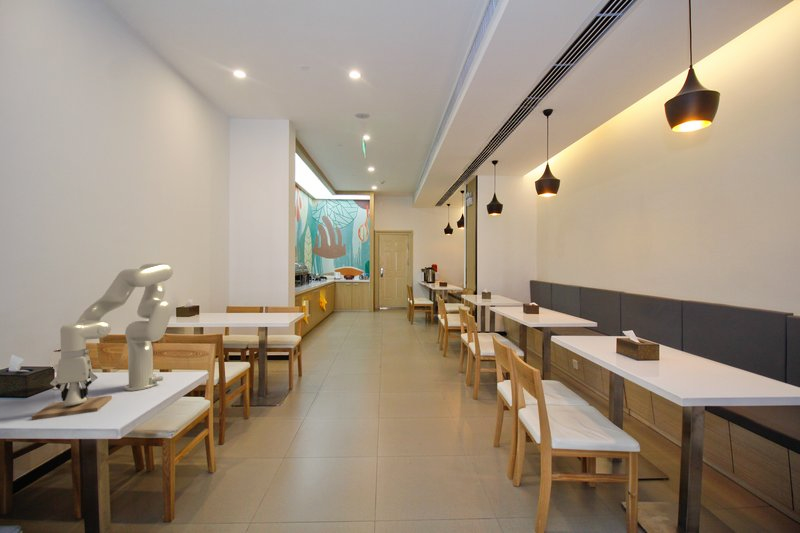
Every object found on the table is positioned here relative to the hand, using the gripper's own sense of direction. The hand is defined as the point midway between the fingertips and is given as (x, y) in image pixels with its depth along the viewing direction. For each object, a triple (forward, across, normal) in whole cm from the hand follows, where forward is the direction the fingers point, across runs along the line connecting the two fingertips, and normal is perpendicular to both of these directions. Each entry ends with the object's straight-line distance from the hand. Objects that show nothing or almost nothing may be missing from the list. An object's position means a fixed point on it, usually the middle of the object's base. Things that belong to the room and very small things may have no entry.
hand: (74, 398), depth 143 cm
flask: (+2, 0, 0) cm, 2 cm away
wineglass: (+5, +19, -36) cm, 41 cm away
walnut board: (+4, 0, 0) cm, 4 cm away
